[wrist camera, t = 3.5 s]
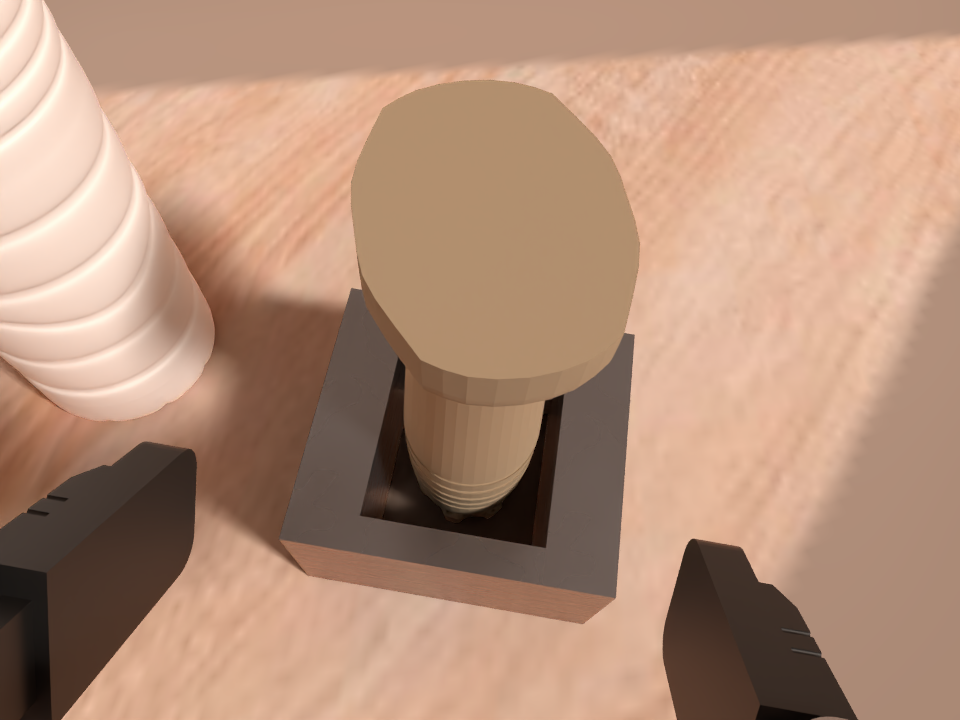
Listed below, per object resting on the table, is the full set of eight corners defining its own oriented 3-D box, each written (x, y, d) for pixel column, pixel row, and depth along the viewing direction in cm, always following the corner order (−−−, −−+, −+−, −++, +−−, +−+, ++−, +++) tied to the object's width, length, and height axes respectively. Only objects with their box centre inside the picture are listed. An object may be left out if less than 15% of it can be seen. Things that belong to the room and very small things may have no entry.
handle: (514, 391, 28) (585, 70, 14) (550, 560, 25) (680, 356, 11) (387, 408, 27) (337, 91, 14) (409, 584, 24) (373, 398, 11)
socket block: (308, 575, 24) (278, 539, 20) (365, 359, 28) (351, 288, 24) (583, 624, 24) (615, 598, 19) (603, 399, 28) (634, 334, 23)
